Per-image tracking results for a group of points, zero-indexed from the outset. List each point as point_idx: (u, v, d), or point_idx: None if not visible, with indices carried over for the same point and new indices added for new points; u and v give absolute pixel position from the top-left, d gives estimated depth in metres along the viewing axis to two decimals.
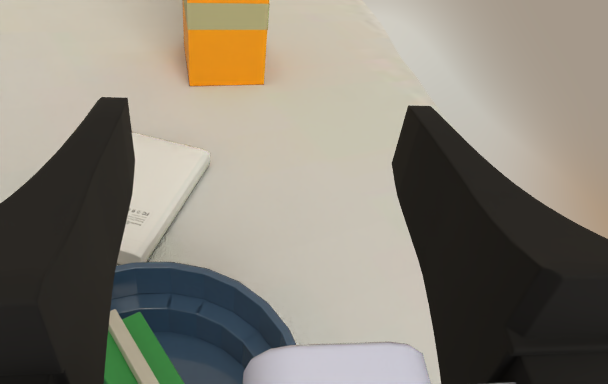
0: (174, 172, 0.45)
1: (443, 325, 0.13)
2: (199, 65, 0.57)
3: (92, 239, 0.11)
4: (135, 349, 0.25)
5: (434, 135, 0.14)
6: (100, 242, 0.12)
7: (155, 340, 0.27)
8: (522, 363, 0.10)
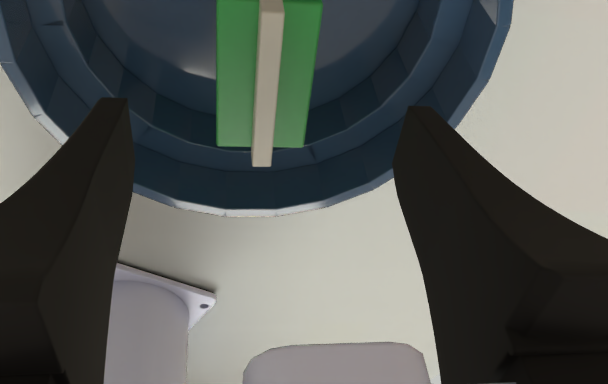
0: None
1: (443, 325, 0.13)
2: None
3: (92, 239, 0.11)
4: (272, 97, 0.16)
5: (434, 135, 0.14)
6: (100, 242, 0.12)
7: (311, 67, 0.17)
8: (522, 363, 0.10)
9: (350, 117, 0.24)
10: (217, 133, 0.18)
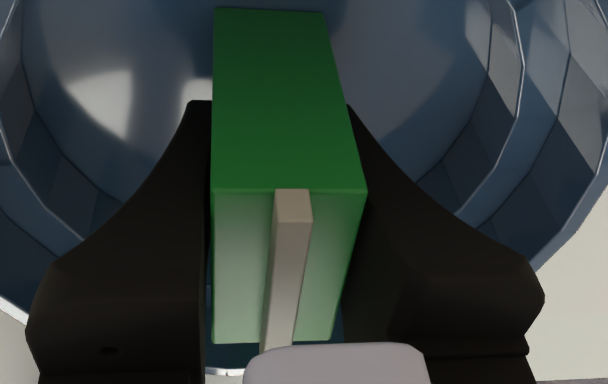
0: None
1: (349, 328, 0.13)
2: None
3: (204, 238, 0.11)
4: (290, 311, 0.11)
5: None
6: None
7: (346, 260, 0.12)
8: None
9: None
10: (213, 331, 0.13)
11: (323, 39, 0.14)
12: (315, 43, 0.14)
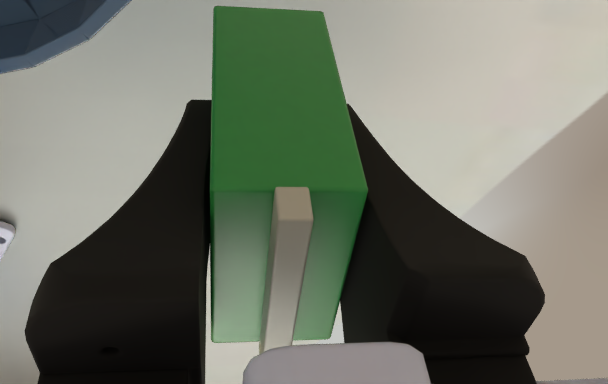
0: None
1: (349, 328, 0.13)
2: None
3: (204, 238, 0.11)
4: (290, 309, 0.11)
5: None
6: (205, 241, 0.12)
7: (346, 259, 0.12)
8: None
9: None
10: (212, 330, 0.13)
11: (323, 37, 0.14)
12: (315, 41, 0.14)
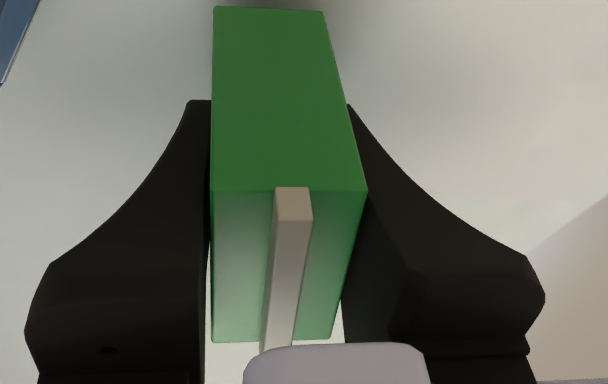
0: None
1: (350, 328, 0.13)
2: None
3: None
4: (290, 309, 0.11)
5: None
6: (204, 241, 0.12)
7: (345, 259, 0.12)
8: None
9: None
10: (212, 330, 0.13)
11: (323, 37, 0.14)
12: (315, 41, 0.14)
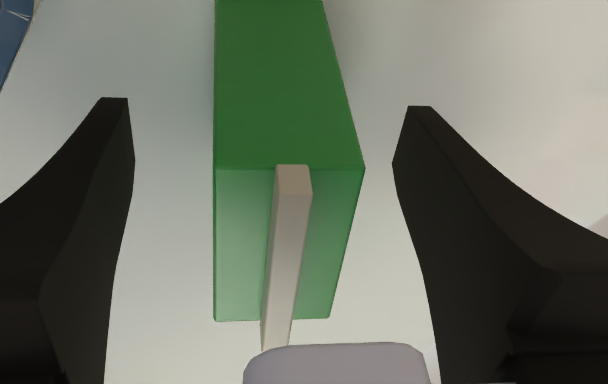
0: None
1: (443, 325, 0.13)
2: None
3: (92, 239, 0.11)
4: (291, 285, 0.12)
5: (434, 135, 0.14)
6: (100, 242, 0.12)
7: (344, 237, 0.12)
8: (522, 363, 0.10)
9: None
10: (215, 309, 0.13)
11: (321, 25, 0.14)
12: (314, 29, 0.14)
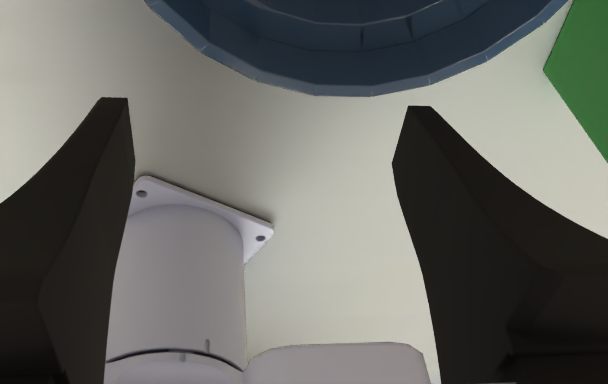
0: None
1: (443, 325, 0.13)
2: None
3: (92, 239, 0.11)
4: None
5: (434, 135, 0.14)
6: (100, 242, 0.12)
7: None
8: (522, 363, 0.10)
9: None
10: None
11: None
12: None
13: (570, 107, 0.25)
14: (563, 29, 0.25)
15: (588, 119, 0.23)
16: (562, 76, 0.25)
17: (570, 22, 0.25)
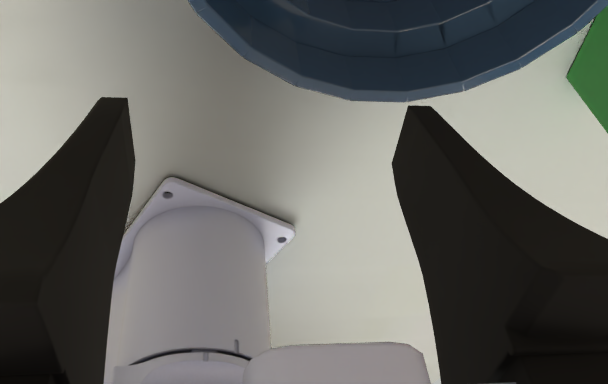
0: None
1: (443, 325, 0.13)
2: None
3: (92, 239, 0.11)
4: None
5: (434, 135, 0.14)
6: (100, 242, 0.12)
7: None
8: (522, 363, 0.10)
9: None
10: None
11: None
12: None
13: (595, 113, 0.25)
14: (588, 37, 0.26)
15: None
16: (586, 83, 0.26)
17: (595, 30, 0.25)
